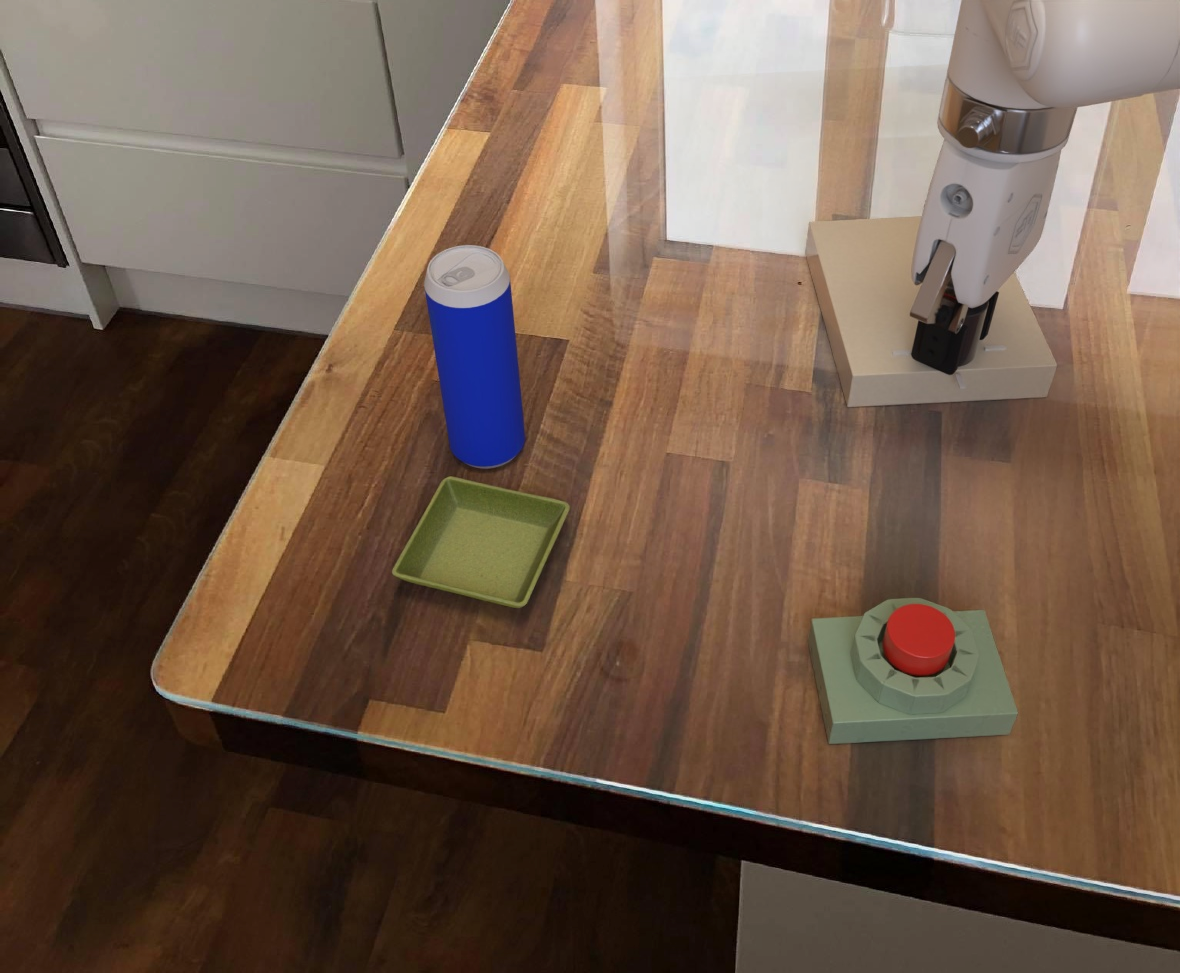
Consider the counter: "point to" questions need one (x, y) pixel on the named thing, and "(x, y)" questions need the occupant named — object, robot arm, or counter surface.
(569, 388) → the counter surface
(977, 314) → the knob
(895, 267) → the panel
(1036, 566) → the counter surface
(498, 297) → the beverage can
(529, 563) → the green square tray
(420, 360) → the counter surface
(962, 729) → the green button base
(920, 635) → the button
